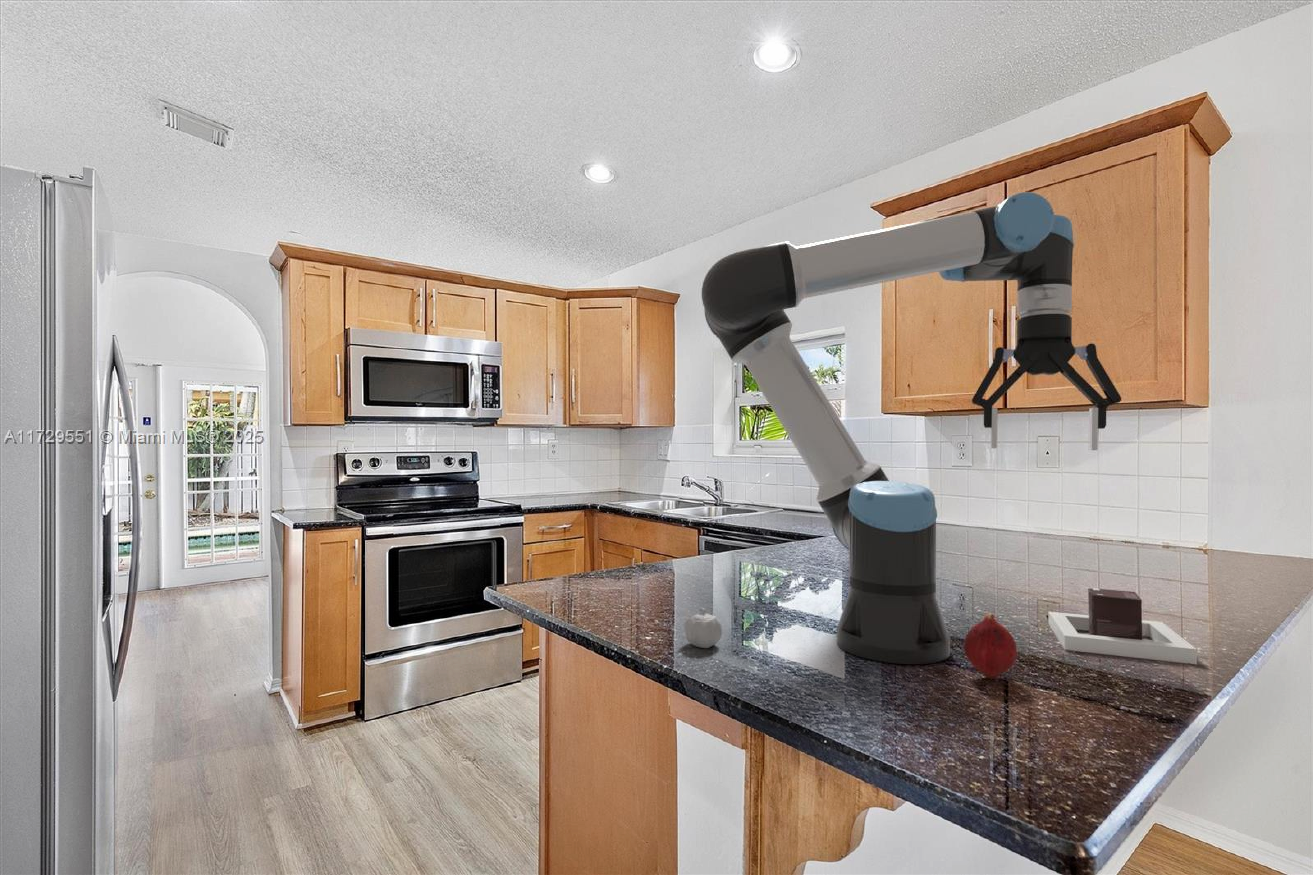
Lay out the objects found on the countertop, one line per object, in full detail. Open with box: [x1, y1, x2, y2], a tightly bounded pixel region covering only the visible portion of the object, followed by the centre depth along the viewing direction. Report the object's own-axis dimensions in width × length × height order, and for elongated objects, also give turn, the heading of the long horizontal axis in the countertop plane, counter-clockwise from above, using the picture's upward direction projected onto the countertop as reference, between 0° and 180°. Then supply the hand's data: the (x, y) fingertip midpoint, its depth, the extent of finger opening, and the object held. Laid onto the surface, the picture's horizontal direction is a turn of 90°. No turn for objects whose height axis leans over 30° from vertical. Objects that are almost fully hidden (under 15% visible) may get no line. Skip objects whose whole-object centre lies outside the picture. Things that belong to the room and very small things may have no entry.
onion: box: [963, 612, 1018, 680], centre depth 80 cm, size 6×6×8 cm
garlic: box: [683, 607, 723, 649], centre depth 93 cm, size 6×5×5 cm
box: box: [1087, 587, 1143, 640], centre depth 95 cm, size 6×6×7 cm
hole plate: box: [1048, 611, 1198, 665], centre depth 95 cm, size 15×15×2 cm
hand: (1042, 449), depth 102 cm, fingers open, 13 cm apart
